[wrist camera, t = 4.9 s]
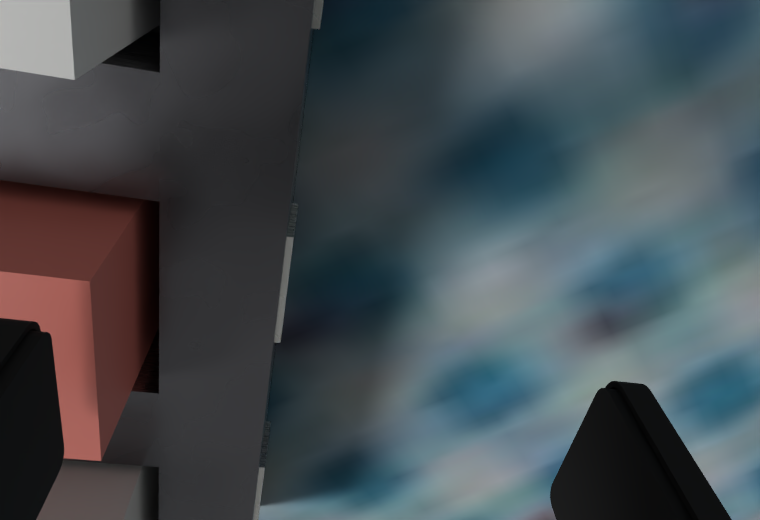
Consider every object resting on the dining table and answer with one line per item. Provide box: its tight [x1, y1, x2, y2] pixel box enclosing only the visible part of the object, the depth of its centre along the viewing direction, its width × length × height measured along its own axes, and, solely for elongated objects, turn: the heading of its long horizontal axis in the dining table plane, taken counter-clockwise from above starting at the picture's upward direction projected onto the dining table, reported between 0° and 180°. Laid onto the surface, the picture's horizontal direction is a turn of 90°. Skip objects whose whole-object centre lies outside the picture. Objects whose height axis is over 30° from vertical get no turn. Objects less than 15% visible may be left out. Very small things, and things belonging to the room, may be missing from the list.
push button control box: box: [0, 0, 324, 520], centre depth 13 cm, size 27×10×4 cm, turn 170°
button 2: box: [0, 180, 160, 461], centre depth 13 cm, size 4×4×6 cm
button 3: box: [36, 460, 159, 520], centre depth 17 cm, size 4×4×6 cm
